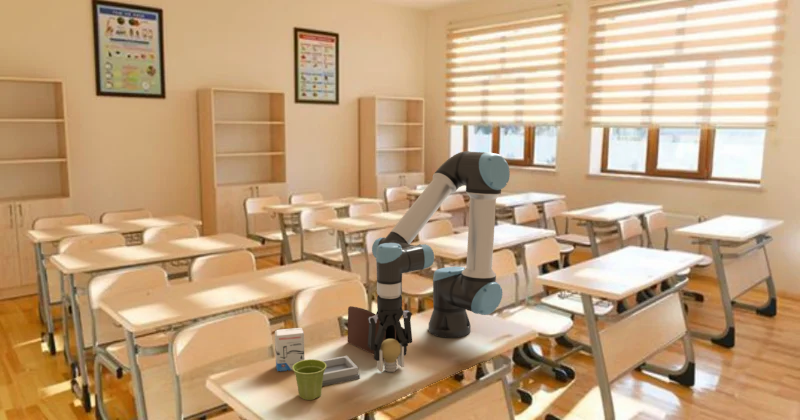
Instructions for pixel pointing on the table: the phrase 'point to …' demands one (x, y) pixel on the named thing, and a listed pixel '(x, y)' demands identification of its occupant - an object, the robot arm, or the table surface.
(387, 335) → the letter holder
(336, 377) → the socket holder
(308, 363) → the plant pot
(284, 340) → the ink box
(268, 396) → the table surface
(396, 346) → the light bulb
